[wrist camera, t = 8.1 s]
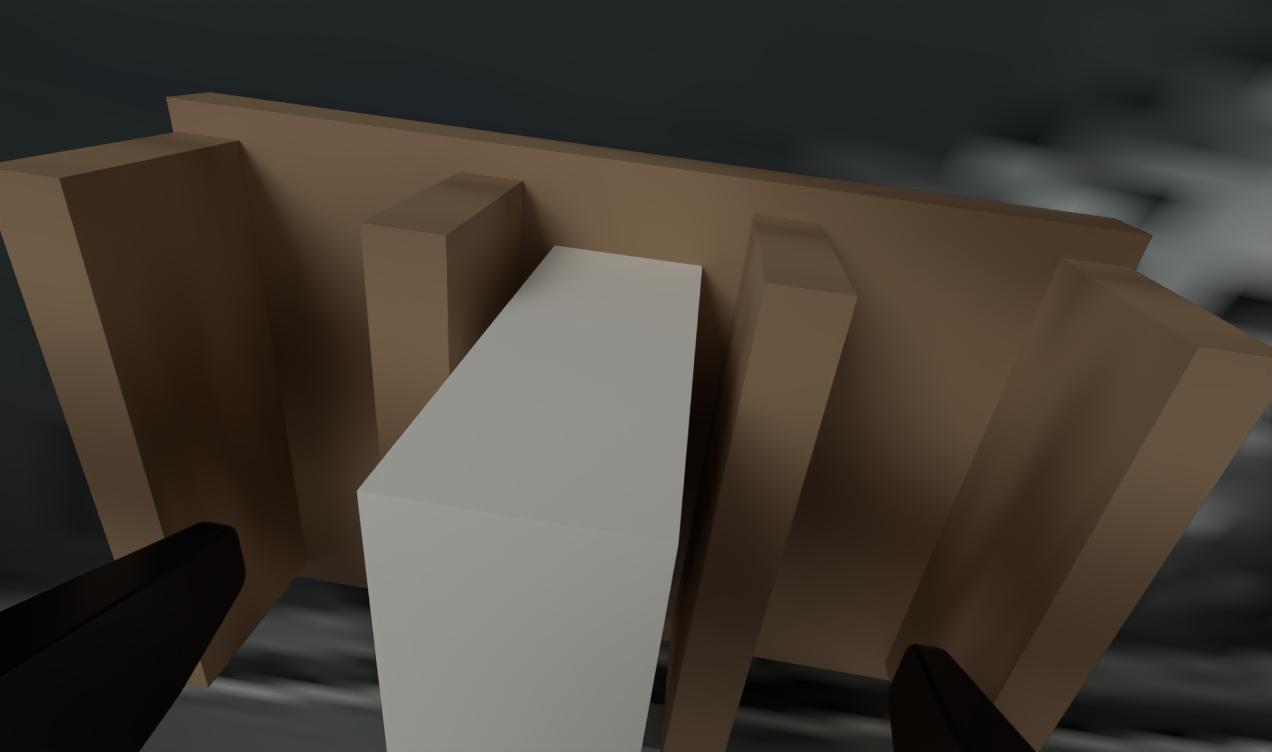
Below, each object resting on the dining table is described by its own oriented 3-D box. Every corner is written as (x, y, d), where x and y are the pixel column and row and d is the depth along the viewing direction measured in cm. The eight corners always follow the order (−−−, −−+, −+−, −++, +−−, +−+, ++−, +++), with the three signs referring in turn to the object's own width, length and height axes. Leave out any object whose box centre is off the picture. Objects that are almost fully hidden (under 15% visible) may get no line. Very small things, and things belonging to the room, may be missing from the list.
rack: (916, 649, 15) (981, 849, 11) (289, 540, 16) (156, 694, 12) (1115, 218, 10) (1337, 318, 7) (210, 92, 11) (-47, 119, 7)
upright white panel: (650, 585, 14) (599, 978, 8) (538, 566, 14) (409, 939, 8) (701, 265, 10) (677, 542, 5) (555, 245, 11) (357, 491, 5)
